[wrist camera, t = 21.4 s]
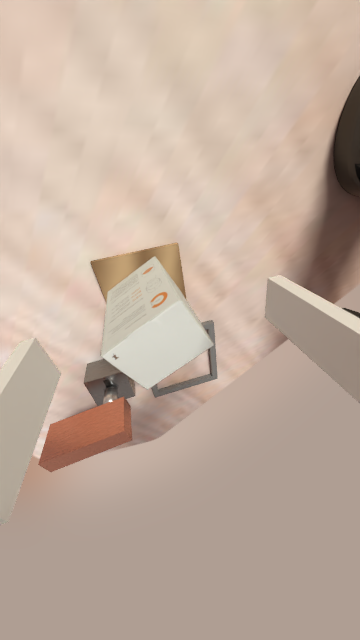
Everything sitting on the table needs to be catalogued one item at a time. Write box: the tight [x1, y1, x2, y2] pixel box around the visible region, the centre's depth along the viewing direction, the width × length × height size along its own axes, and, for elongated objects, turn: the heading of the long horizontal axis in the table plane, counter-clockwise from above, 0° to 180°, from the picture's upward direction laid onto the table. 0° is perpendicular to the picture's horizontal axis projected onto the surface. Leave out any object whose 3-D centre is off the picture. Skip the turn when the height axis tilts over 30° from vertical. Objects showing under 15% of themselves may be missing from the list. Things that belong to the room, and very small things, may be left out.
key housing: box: [84, 359, 135, 406], centre depth 33 cm, size 6×6×4 cm
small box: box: [101, 256, 214, 390], centre depth 23 cm, size 8×6×13 cm
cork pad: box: [91, 243, 186, 303], centre depth 29 cm, size 11×11×1 cm
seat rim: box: [152, 320, 217, 397], centre depth 37 cm, size 13×14×1 cm
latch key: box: [39, 386, 132, 472], centre depth 28 cm, size 2×10×8 cm, turn 105°
